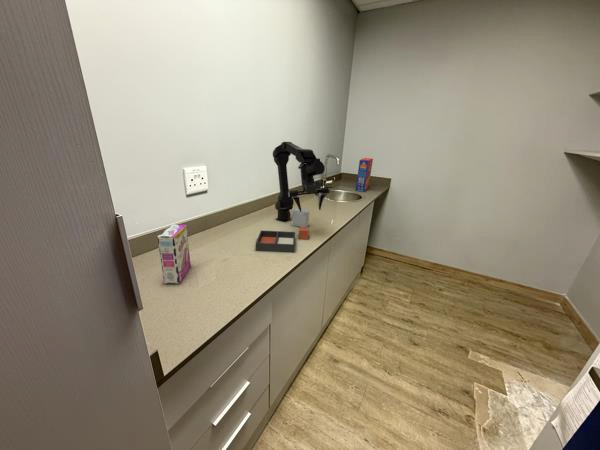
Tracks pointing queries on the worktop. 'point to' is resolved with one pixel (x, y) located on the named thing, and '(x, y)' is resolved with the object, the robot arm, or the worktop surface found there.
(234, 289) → the worktop surface
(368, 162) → the pasta box
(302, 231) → the terracotta block
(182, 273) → the candy bar box
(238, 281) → the worktop surface
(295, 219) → the medicine box
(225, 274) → the worktop surface
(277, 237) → the tray
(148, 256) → the worktop surface
